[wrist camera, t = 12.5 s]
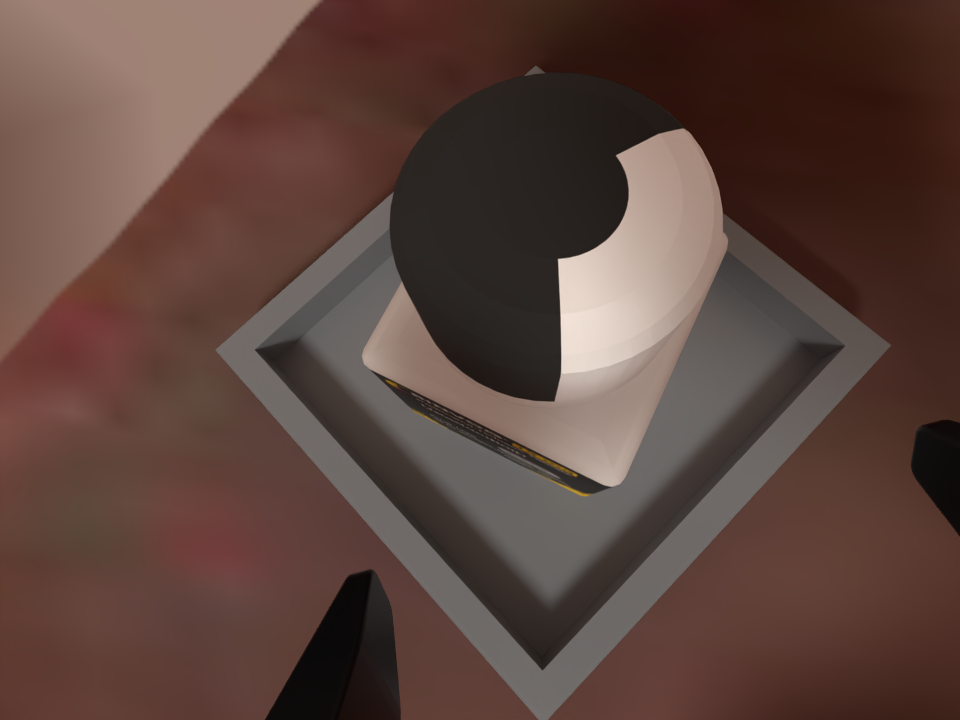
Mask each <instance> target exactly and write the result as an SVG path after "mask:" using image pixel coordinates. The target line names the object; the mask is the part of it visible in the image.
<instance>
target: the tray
mask: <svg viewBox="0 0 960 720" xmlns="http://www.w3.org/2000/svg"><path fill="white" fill-rule="evenodd" d="M540 73H545V72H543V71H542V70H541V69H540V68H538V67H537V66H535V67H534V68H532V69H531V70H530V71H529V72H528V73H527V74H526V75H525V76H527V75H532V74H540ZM393 193H394V192H393ZM393 193H392V194H391V195H389V196H388V197H387V198H386V199H385V200H384V201H383V202H382V203H380V204H379V205H378V206H377V207H376V208H375V209H374V210H373V211H371V212H370V213H369V214H368V215H367V216H366V217H365V218H364V219H362V220H361V221H360V222H359V223H358V224H357V225H356V226H355V227H353V228H352V229H351V230H350V231H349V232H348V233H347V234H346V235H344V236H343V237H342V238H341V239H340V240H339V241H338V242H337V243H335V244H334V245H333V246H332V247H331V248H330V249H329V250H328V251H326V252H325V253H324V254H323V255H322V256H321V257H320V258H319V259H317V260H316V261H315V262H314V263H313V264H312V265H311V266H310V267H308V268H307V269H306V270H305V271H304V272H303V273H302V274H301V275H299V276H298V277H297V278H296V279H295V280H294V281H293V282H292V283H290V284H289V285H288V286H287V287H286V288H285V289H284V290H283V291H281V292H280V293H279V294H278V295H277V296H276V297H275V298H273V299H272V300H271V301H270V302H269V303H268V304H267V305H266V306H264V307H263V308H262V309H261V310H260V311H259V312H258V313H257V314H255V315H254V316H253V317H252V318H251V319H250V320H249V321H248V322H246V323H245V324H244V325H243V326H242V327H241V328H240V329H239V330H237V331H236V332H235V333H234V334H233V335H232V336H231V337H230V338H228V339H227V340H226V341H225V342H224V343H223V344H222V345H221V346H219V347H218V348H217V349H216V351H217V352H218V353H219V355H220V356H221V357H222V358H223V359H224V360H225V361H226V363H227V364H228V365H229V366H230V367H231V368H232V369H233V371H234V372H235V373H236V374H237V375H238V376H239V377H240V379H241V380H242V381H243V382H244V383H245V384H246V385H247V387H248V388H249V389H250V390H251V391H252V392H253V393H254V395H255V396H256V397H257V398H258V399H259V400H260V401H261V403H262V404H263V405H264V406H265V407H266V408H267V409H268V411H269V412H270V413H271V414H272V415H273V416H274V417H275V419H276V420H277V421H278V422H279V423H280V424H281V425H282V427H283V428H284V429H285V430H286V431H287V432H288V433H289V435H290V436H291V437H292V438H293V439H294V440H295V441H296V443H297V444H298V445H299V446H300V447H301V448H302V449H303V451H304V452H305V453H306V454H307V455H308V456H309V457H310V459H311V460H312V461H313V462H314V463H315V464H316V465H317V467H318V468H319V469H320V470H321V471H322V472H323V473H324V475H325V476H326V477H327V478H328V479H329V480H330V481H331V483H332V484H333V485H334V486H335V487H336V488H337V489H338V491H339V492H340V493H341V494H342V495H343V496H344V497H345V499H346V500H347V501H348V502H349V503H350V504H351V505H352V507H353V508H354V509H355V510H356V511H357V512H358V513H359V515H360V516H361V517H362V518H363V519H364V520H365V521H366V523H367V524H368V525H369V526H370V527H371V528H372V530H373V531H374V532H375V533H376V534H377V535H378V536H379V538H380V539H381V540H382V541H383V542H384V543H385V544H386V546H387V547H388V548H389V549H390V550H391V551H392V552H393V554H394V555H395V556H396V557H397V558H398V559H399V560H400V562H401V563H402V564H403V565H404V566H405V567H406V568H407V570H408V571H409V572H410V573H411V574H412V575H413V576H414V578H415V579H416V580H417V581H418V582H419V583H420V584H421V586H422V587H423V588H424V589H425V590H426V591H427V592H428V594H429V595H430V596H431V597H432V598H433V599H434V600H435V602H436V603H437V604H438V605H439V606H440V607H441V608H442V610H443V611H444V612H445V613H446V614H447V615H448V616H449V618H450V619H451V620H452V621H453V622H454V623H455V624H456V626H457V627H458V628H459V629H460V630H461V631H462V632H463V634H464V635H465V636H466V637H467V638H468V639H469V640H470V642H471V643H472V644H473V645H474V646H475V647H476V648H477V650H478V651H479V652H480V653H481V654H482V655H483V656H484V658H485V659H486V660H487V661H488V662H489V663H490V664H491V666H492V667H493V668H494V669H495V670H496V671H497V672H498V674H499V675H500V676H501V677H502V678H503V679H504V680H505V682H506V683H507V684H508V685H509V686H510V687H511V688H512V690H513V691H514V692H515V693H516V694H517V695H518V696H519V698H520V699H521V700H522V701H523V702H524V703H525V704H526V706H527V707H528V708H529V709H530V710H531V711H532V712H533V714H534V715H535V716H536V717H537V718H538V719H539V720H548V719H549V718H550V717H551V715H552V714H553V713H554V712H555V711H556V710H557V709H558V708H559V707H560V706H561V705H562V703H563V702H564V701H565V700H566V699H567V698H568V697H569V696H570V695H571V694H572V693H573V692H574V690H575V689H576V688H577V687H578V686H579V685H580V684H581V683H582V682H583V681H584V680H585V678H586V677H587V676H588V675H589V674H590V673H591V672H592V671H593V670H594V669H595V668H596V666H597V665H598V664H599V663H600V662H601V661H602V660H603V659H604V658H605V657H606V656H607V654H608V653H609V652H610V651H611V650H612V649H613V648H614V647H615V646H616V645H617V644H618V643H619V641H620V640H621V639H622V638H623V637H624V636H625V635H626V634H627V633H628V632H629V631H630V629H631V628H632V627H633V626H634V625H635V624H636V623H637V622H638V621H639V620H640V619H641V617H642V616H643V615H644V614H645V613H646V612H647V611H648V610H649V609H650V608H651V607H652V605H653V604H654V603H655V602H656V601H657V600H658V599H659V598H660V597H661V596H662V595H663V594H664V592H665V591H666V590H667V589H668V588H669V587H670V586H671V585H672V584H673V583H674V582H675V580H676V579H677V578H678V577H679V576H680V575H681V574H682V573H683V572H684V571H685V570H686V568H687V567H688V566H689V565H690V564H691V563H692V562H693V561H694V560H695V559H696V558H697V556H698V555H699V554H700V553H701V552H702V551H703V550H704V549H705V548H706V547H707V546H708V545H709V543H710V542H711V541H712V540H713V539H714V538H715V537H716V536H717V535H718V534H719V533H720V531H721V530H722V529H723V528H724V527H725V526H726V525H727V524H728V523H729V522H730V521H731V519H732V518H733V517H734V516H735V515H736V514H737V513H738V512H739V511H740V510H741V509H742V507H743V506H744V505H745V504H746V503H747V502H748V501H749V500H750V499H751V498H752V497H753V496H754V494H755V493H756V492H757V491H758V490H759V489H760V488H761V487H762V486H763V485H764V484H765V482H766V481H767V480H768V479H769V478H770V477H771V476H772V475H773V474H774V473H775V472H776V470H777V469H778V468H779V467H780V466H781V465H782V464H783V463H784V462H785V461H786V460H787V458H788V457H789V456H790V455H791V454H792V453H793V452H794V451H795V450H796V449H797V448H798V446H799V445H800V444H801V443H802V442H803V441H804V440H805V439H806V438H807V437H808V436H809V435H810V433H811V432H812V431H813V430H814V429H815V428H816V427H817V426H818V425H819V424H820V423H821V421H822V420H823V419H824V418H825V417H826V416H827V415H828V414H829V413H830V412H831V411H832V409H833V408H834V407H835V406H836V405H837V404H838V403H839V402H840V401H841V400H842V399H843V397H844V396H845V395H846V394H847V393H848V392H849V391H850V390H851V389H852V388H853V387H854V386H855V384H856V383H857V382H858V381H859V380H860V379H861V378H862V377H863V376H864V375H865V374H866V372H867V371H868V370H869V369H870V368H871V367H872V366H873V365H874V364H875V363H876V362H877V360H878V359H879V358H880V357H881V356H882V355H883V354H884V353H885V352H886V351H887V350H888V348H889V347H890V346H891V345H890V344H889V343H888V342H886V341H885V340H884V339H882V338H881V337H880V336H879V335H877V334H876V333H875V332H874V331H872V330H871V329H870V328H869V327H867V326H866V325H865V324H863V323H862V322H861V321H860V320H858V319H857V318H856V317H855V316H853V315H852V314H851V313H849V312H848V311H847V310H846V309H844V308H843V307H842V306H841V305H839V304H838V303H837V302H835V301H834V300H833V299H832V298H830V297H829V296H828V295H827V294H825V293H824V292H823V291H822V290H820V289H819V288H818V287H816V286H815V285H814V284H813V283H811V282H810V281H809V280H808V279H806V278H805V277H804V276H802V275H801V274H800V273H799V272H797V271H796V270H795V269H794V268H792V267H791V266H790V265H789V264H787V263H786V262H785V261H783V260H782V259H781V258H780V257H778V256H777V255H776V254H775V253H773V252H772V251H771V250H769V249H768V248H767V247H766V246H764V245H763V244H762V243H761V242H759V241H758V240H757V239H756V238H754V237H753V236H752V235H750V234H749V233H748V232H747V231H745V230H744V229H743V228H742V227H740V226H739V225H738V224H736V223H735V222H734V221H733V220H731V219H730V218H729V217H728V216H726V215H725V214H724V213H723V233H725V234H726V236H727V238H728V245H727V251H726V253H725V255H724V257H723V260H722V262H721V264H720V266H719V269H718V271H717V273H716V275H715V278H714V280H713V282H712V284H711V287H710V289H709V291H708V293H707V296H706V298H705V300H704V302H703V304H702V307H701V309H700V311H699V313H698V316H697V318H696V320H695V322H694V325H693V327H692V329H691V331H690V334H689V336H688V338H687V340H686V343H685V345H684V347H683V349H682V352H681V354H680V356H679V358H678V361H677V363H676V365H675V367H674V369H673V372H672V374H671V376H670V378H669V381H668V383H667V385H666V387H665V390H664V392H663V394H662V396H661V399H660V401H659V403H658V405H657V408H656V410H655V412H654V414H653V417H652V419H651V421H650V423H649V426H648V428H647V430H646V432H645V435H644V437H643V439H642V441H641V443H640V446H639V448H638V450H637V452H636V455H635V457H634V459H633V461H632V464H631V466H630V468H629V470H628V473H627V475H626V477H625V479H624V480H623V481H622V482H621V484H619V485H617V486H614V487H611V488H609V489H606V490H603V491H600V492H598V493H595V494H592V495H589V496H586V497H585V496H580V495H578V494H576V493H574V492H572V491H570V490H568V489H566V488H564V487H562V486H560V485H558V484H556V483H554V482H552V481H550V480H548V479H546V478H544V477H542V476H540V475H538V474H536V473H534V472H532V471H530V470H528V469H526V468H524V467H522V466H520V465H518V464H516V463H514V462H513V461H511V460H509V459H507V458H505V457H503V456H501V455H499V454H497V453H495V452H493V451H491V450H489V449H487V448H485V447H483V446H481V445H479V444H477V443H475V442H473V441H471V440H469V439H467V438H465V437H463V436H461V435H459V434H457V433H455V432H453V431H451V430H449V429H447V428H445V427H443V426H441V425H439V424H437V423H435V422H433V421H431V420H429V419H427V418H425V417H423V416H421V415H419V414H417V413H415V412H414V411H413V410H412V409H411V408H410V407H409V406H408V405H406V404H405V403H404V402H403V401H402V400H401V399H400V398H399V397H398V396H397V395H396V394H395V393H394V392H393V391H392V390H391V389H390V388H389V387H388V386H387V385H385V384H384V383H383V382H382V381H381V380H380V379H379V378H378V377H377V376H376V375H375V374H374V373H373V372H372V371H371V370H370V369H369V368H368V367H367V366H365V365H364V362H363V359H362V353H363V350H364V347H365V346H366V344H367V342H368V340H369V339H370V337H371V335H372V333H373V332H374V330H375V328H376V326H377V324H378V323H379V321H380V319H381V317H382V316H383V314H384V312H385V310H386V309H387V307H388V305H389V303H390V301H391V300H392V298H393V296H394V294H395V293H396V291H397V289H398V287H399V286H400V284H401V282H402V280H401V278H400V276H399V273H398V271H397V269H396V265H395V261H394V257H393V253H392V249H391V240H390V229H389V224H390V208H391V202H392V198H393Z"/></svg>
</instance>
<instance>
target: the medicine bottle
mask: <svg viewBox="0 0 960 720" xmlns="http://www.w3.org/2000/svg"><path fill="white" fill-rule="evenodd" d="M389 229H390V240H391V249H392V253H393V257H394V261H395V265H396V269H397V271H398V273H399V276H400V278H401V280H402V282H401V284H400V286H399V287H398V289H397V291H396V293H395V294H394V296H393V298H392V300H391V301H390V303H389V305H388V307H387V309H386V310H385V312H384V314H383V316H382V317H381V319H380V321H379V323H378V324H377V326H376V328H375V330H374V332H373V333H372V335H371V337H370V339H369V340H368V342H367V344H366V346H365V347H364V350H363V353H362V359H363V362H364V365H365V366H367V367H368V368H369V369H370V370H371V371H372V372H373V373H374V374H375V375H376V376H377V377H378V378H379V379H380V380H381V381H382V382H383V383H384V384H385V385H387V386H388V387H389V388H390V389H391V390H392V391H393V392H394V393H395V394H396V395H397V396H398V397H399V398H400V399H401V400H402V401H403V402H404V403H405V404H406V405H408V406H409V407H410V408H411V409H412V410H413V411H414V412H415V413H417V414H419V415H421V416H423V417H425V418H427V419H429V420H431V421H433V422H435V423H437V424H439V425H441V426H443V427H445V428H447V429H449V430H451V431H453V432H455V433H457V434H459V435H461V436H463V437H465V438H467V439H469V440H471V441H473V442H475V443H477V444H479V445H481V446H483V447H485V448H487V449H489V450H491V451H493V452H495V453H497V454H499V455H501V456H503V457H505V458H507V459H509V460H511V461H513V462H514V463H516V464H518V465H520V466H522V467H524V468H526V469H528V470H530V471H532V472H534V473H536V474H538V475H540V476H542V477H544V478H546V479H548V480H550V481H552V482H554V483H556V484H558V485H560V486H562V487H564V488H566V489H568V490H570V491H572V492H574V493H576V494H578V495H580V496H585V497H586V496H589V495H592V494H595V493H598V492H600V491H603V490H606V489H609V488H611V487H614V486H617V485H619V484H621V482H622V481H623V480H624V479H625V477H626V475H627V473H628V470H629V468H630V466H631V464H632V461H633V459H634V457H635V455H636V452H637V450H638V448H639V446H640V443H641V441H642V439H643V437H644V435H645V432H646V430H647V428H648V426H649V423H650V421H651V419H652V417H653V414H654V412H655V410H656V408H657V405H658V403H659V401H660V399H661V396H662V394H663V392H664V390H665V387H666V385H667V383H668V381H669V378H670V376H671V374H672V372H673V369H674V367H675V365H676V363H677V361H678V358H679V356H680V354H681V352H682V349H683V347H684V345H685V343H686V340H687V338H688V336H689V334H690V331H691V329H692V327H693V325H694V322H695V320H696V318H697V316H698V313H699V311H700V309H701V307H702V304H703V302H704V300H705V298H706V296H707V293H708V291H709V289H710V287H711V284H712V282H713V280H714V278H715V275H716V273H717V271H718V269H719V266H720V264H721V262H722V260H723V257H724V255H725V253H726V251H727V245H728V238H727V236H726V234H725V233H723V210H722V204H721V198H720V192H719V188H718V185H717V182H716V179H715V176H714V173H713V170H712V168H711V166H710V164H709V162H708V160H707V158H706V156H705V154H704V152H703V150H702V149H701V147H700V146H699V145H698V143H697V142H696V141H695V139H694V138H693V136H692V135H691V134H690V132H689V131H688V130H687V129H686V128H685V127H684V126H683V125H682V124H681V123H680V122H679V121H678V120H677V119H676V118H675V117H674V116H673V115H671V114H670V113H669V112H668V111H666V110H665V109H664V108H663V107H661V106H660V105H659V104H657V103H656V102H654V101H652V100H651V99H649V98H647V97H645V96H644V95H642V94H640V93H639V92H637V91H635V90H633V89H630V88H628V87H626V86H624V85H621V84H619V83H617V82H613V81H610V80H606V79H603V78H600V77H595V76H589V75H583V74H578V73H558V72H555V73H540V74H532V75H527V76H521V77H516V78H513V79H510V80H506V81H503V82H500V83H497V84H494V85H492V86H490V87H488V88H485V89H483V90H481V91H479V92H477V93H474V94H473V95H471V96H469V97H468V98H466V99H464V100H463V101H461V102H459V103H458V104H456V105H455V106H453V107H452V108H451V109H449V110H448V111H447V112H446V113H444V114H443V115H442V116H441V117H439V118H438V119H437V120H436V121H435V122H434V123H433V124H432V125H431V126H430V127H429V128H428V130H427V131H426V132H425V133H424V134H423V135H422V137H421V138H420V139H419V141H418V142H417V143H416V145H415V146H414V147H413V149H412V150H411V152H410V154H409V156H408V158H407V159H406V161H405V163H404V165H403V167H402V169H401V172H400V174H399V177H398V180H397V182H396V185H395V188H394V193H393V198H392V202H391V208H390V224H389Z"/></svg>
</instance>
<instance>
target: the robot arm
mask: <svg viewBox="0 0 960 720" xmlns="http://www.w3.org/2000/svg"><path fill="white" fill-rule="evenodd" d="M911 468H912V472H913V475H914V477H915V478H916V480H917V481H918V483H919V484H920V485H921V487H922V488H923V489H924V491H925V492H926V493H927V494H928V496H929V497H930V498H931V500H932V501H933V502H934V503H935V505H936V506H937V507H938V509H939V510H940V511H941V513H942V514H943V515H944V516H945V518H946V519H947V520H948V522H949V523H950V524H951V526H952V527H953V528H954V529H955V531H956V532H957V533H958V535H959V536H960V423H958V422H955V421H951V420H940V421H937V422H933V423H929V424H925V425H922V426H920V427H919V428H918V430H917V431H916V436H915V442H914V448H913V454H912V460H911ZM265 720H401V709H400V695H399V683H398V672H397V661H396V649H395V638H394V627H393V616H392V609H391V605H390V602H389V600H388V597H387V595H386V593H385V591H384V589H383V587H382V584H381V582H380V580H379V578H378V576H377V574H376V572H375V571H374V570H371V569H369V570H365V571H361V572H357V573H353V574H351V575H349V576H348V577H347V578H346V580H345V581H344V583H343V585H342V587H341V588H340V590H339V592H338V593H337V595H336V597H335V599H334V600H333V602H332V604H331V606H330V607H329V609H328V611H327V613H326V614H325V616H324V618H323V620H322V621H321V623H320V625H319V627H318V628H317V630H316V632H315V633H314V635H313V637H312V639H311V640H310V642H309V644H308V646H307V647H306V649H305V651H304V653H303V654H302V656H301V658H300V660H299V661H298V663H297V665H296V666H295V668H294V670H293V672H292V673H291V675H290V677H289V679H288V680H287V682H286V684H285V686H284V687H283V689H282V691H281V693H280V694H279V696H278V698H277V700H276V701H275V703H274V705H273V706H272V708H271V710H270V712H269V713H268V715H267V717H266V719H265Z"/></svg>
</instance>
